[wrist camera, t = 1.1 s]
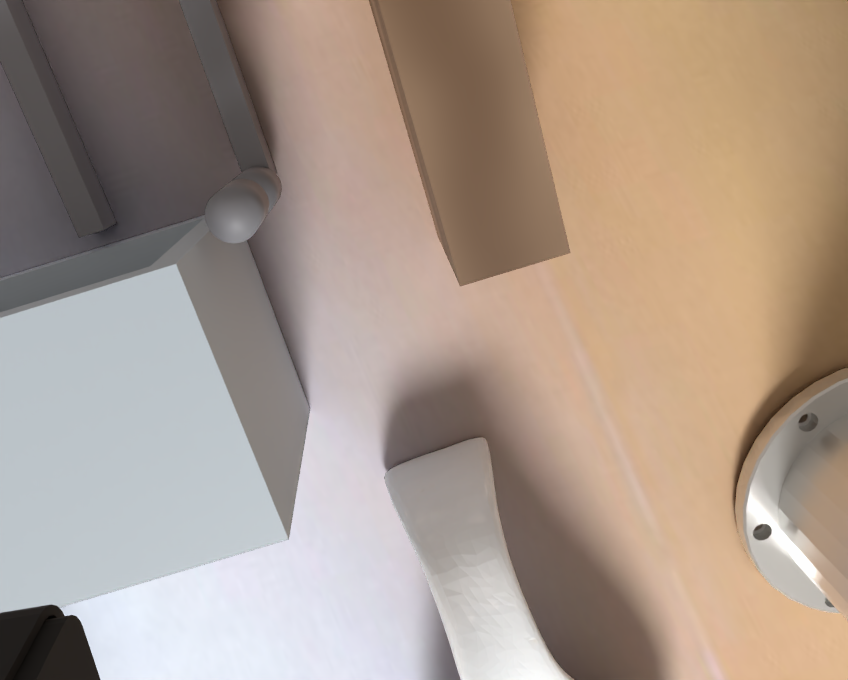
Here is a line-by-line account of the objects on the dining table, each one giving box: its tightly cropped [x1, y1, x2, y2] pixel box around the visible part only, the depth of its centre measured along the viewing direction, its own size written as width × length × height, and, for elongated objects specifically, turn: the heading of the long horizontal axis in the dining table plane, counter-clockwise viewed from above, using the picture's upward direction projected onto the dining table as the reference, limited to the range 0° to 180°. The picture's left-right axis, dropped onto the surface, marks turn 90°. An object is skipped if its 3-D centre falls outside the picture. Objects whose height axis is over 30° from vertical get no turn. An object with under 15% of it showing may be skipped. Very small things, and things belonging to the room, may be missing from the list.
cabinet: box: [0, 0, 310, 613], centre depth 26 cm, size 18×20×10 cm
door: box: [369, 0, 570, 286], centre depth 26 cm, size 4×10×8 cm, turn 16°
